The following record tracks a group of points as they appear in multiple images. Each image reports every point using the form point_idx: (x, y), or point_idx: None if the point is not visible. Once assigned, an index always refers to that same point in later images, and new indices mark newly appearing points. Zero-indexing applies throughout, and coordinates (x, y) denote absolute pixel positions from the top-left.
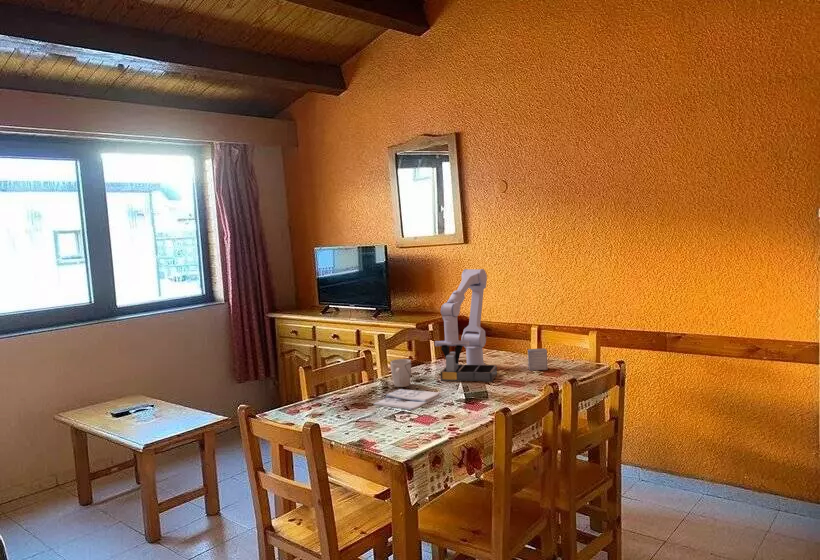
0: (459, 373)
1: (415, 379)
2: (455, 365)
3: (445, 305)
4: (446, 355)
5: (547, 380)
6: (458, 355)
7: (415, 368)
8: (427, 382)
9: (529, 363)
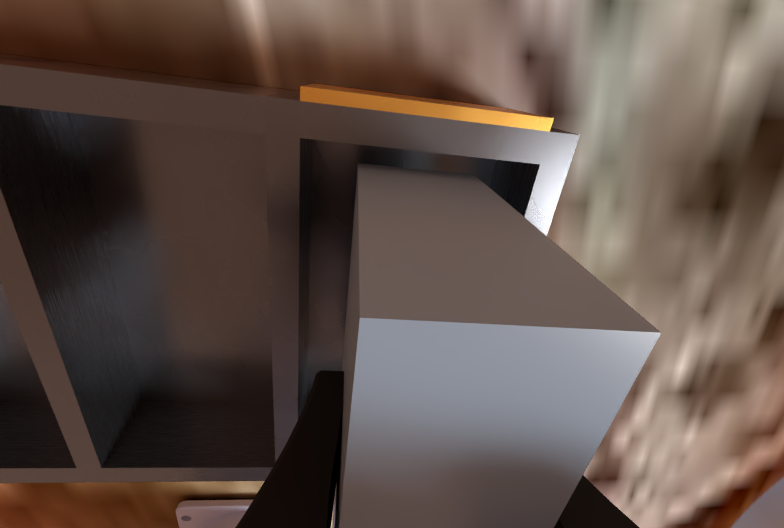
0: (249, 91)
1: (777, 200)
2: (347, 321)
3: None
4: (571, 502)
5: None
6: (244, 514)
7: (678, 490)
8: (687, 55)
9: None
